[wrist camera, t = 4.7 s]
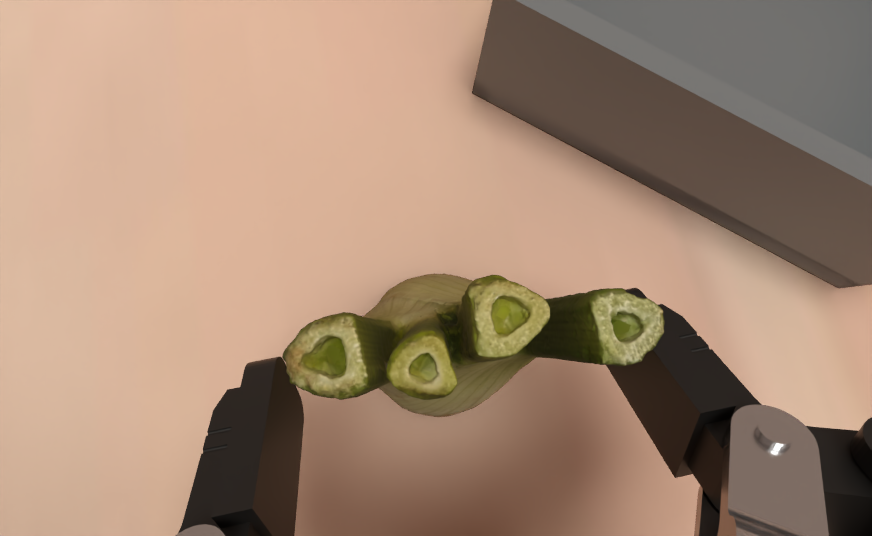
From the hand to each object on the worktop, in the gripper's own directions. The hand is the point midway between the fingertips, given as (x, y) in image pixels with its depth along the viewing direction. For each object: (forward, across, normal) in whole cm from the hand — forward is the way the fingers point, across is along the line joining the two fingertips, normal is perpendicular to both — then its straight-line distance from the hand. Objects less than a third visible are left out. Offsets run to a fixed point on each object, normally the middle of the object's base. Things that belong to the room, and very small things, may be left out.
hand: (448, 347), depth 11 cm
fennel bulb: (+5, 0, +5) cm, 7 cm away
